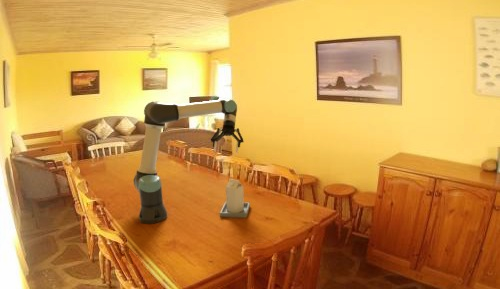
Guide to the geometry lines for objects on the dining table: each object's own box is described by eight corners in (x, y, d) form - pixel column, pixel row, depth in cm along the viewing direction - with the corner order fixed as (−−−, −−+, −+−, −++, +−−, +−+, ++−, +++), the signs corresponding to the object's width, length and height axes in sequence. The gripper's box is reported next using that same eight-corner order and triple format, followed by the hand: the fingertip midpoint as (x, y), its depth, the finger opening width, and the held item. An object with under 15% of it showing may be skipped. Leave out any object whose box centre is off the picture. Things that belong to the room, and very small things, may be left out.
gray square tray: (220, 217, 169) (219, 212, 168) (225, 205, 183) (225, 201, 183) (246, 217, 167) (246, 213, 166) (249, 206, 181) (249, 202, 181)
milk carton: (234, 207, 180) (233, 176, 176) (244, 210, 175) (243, 179, 171) (226, 211, 174) (225, 180, 170) (236, 214, 170) (234, 182, 166)
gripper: (249, 126, 194) (246, 154, 182) (211, 126, 197) (206, 154, 186) (248, 119, 187) (245, 148, 176) (209, 119, 191) (204, 148, 179)
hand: (225, 151), depth 181 cm, fingers open, 13 cm apart
